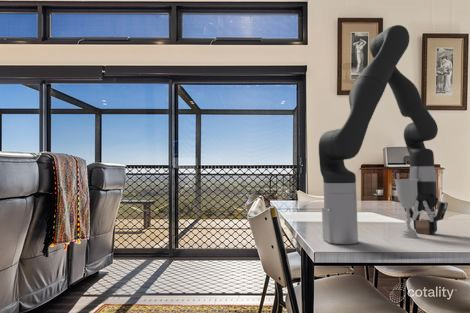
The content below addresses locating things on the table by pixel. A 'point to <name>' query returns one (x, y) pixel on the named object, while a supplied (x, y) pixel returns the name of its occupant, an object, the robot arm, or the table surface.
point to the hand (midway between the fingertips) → (425, 231)
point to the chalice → (407, 202)
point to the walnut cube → (423, 226)
